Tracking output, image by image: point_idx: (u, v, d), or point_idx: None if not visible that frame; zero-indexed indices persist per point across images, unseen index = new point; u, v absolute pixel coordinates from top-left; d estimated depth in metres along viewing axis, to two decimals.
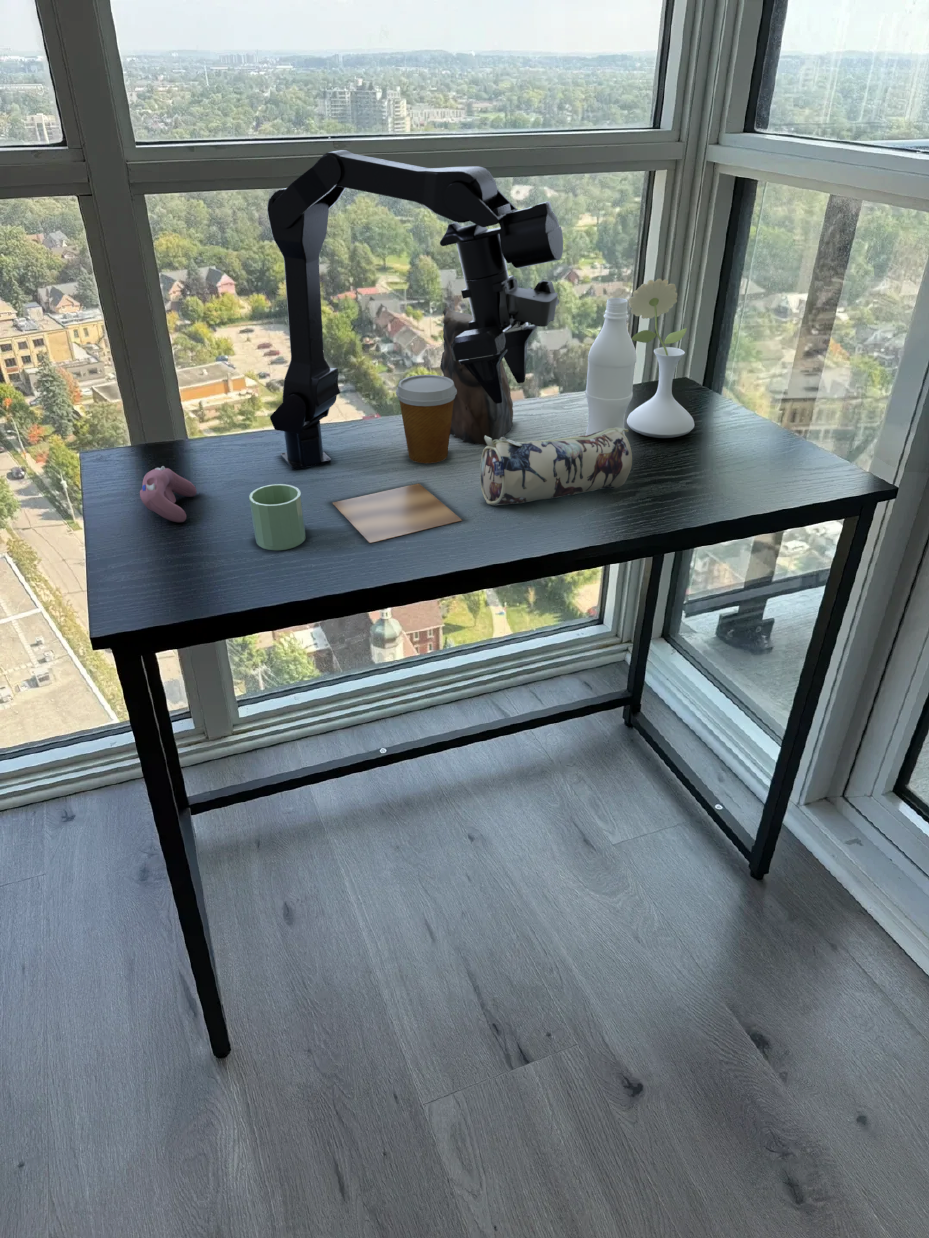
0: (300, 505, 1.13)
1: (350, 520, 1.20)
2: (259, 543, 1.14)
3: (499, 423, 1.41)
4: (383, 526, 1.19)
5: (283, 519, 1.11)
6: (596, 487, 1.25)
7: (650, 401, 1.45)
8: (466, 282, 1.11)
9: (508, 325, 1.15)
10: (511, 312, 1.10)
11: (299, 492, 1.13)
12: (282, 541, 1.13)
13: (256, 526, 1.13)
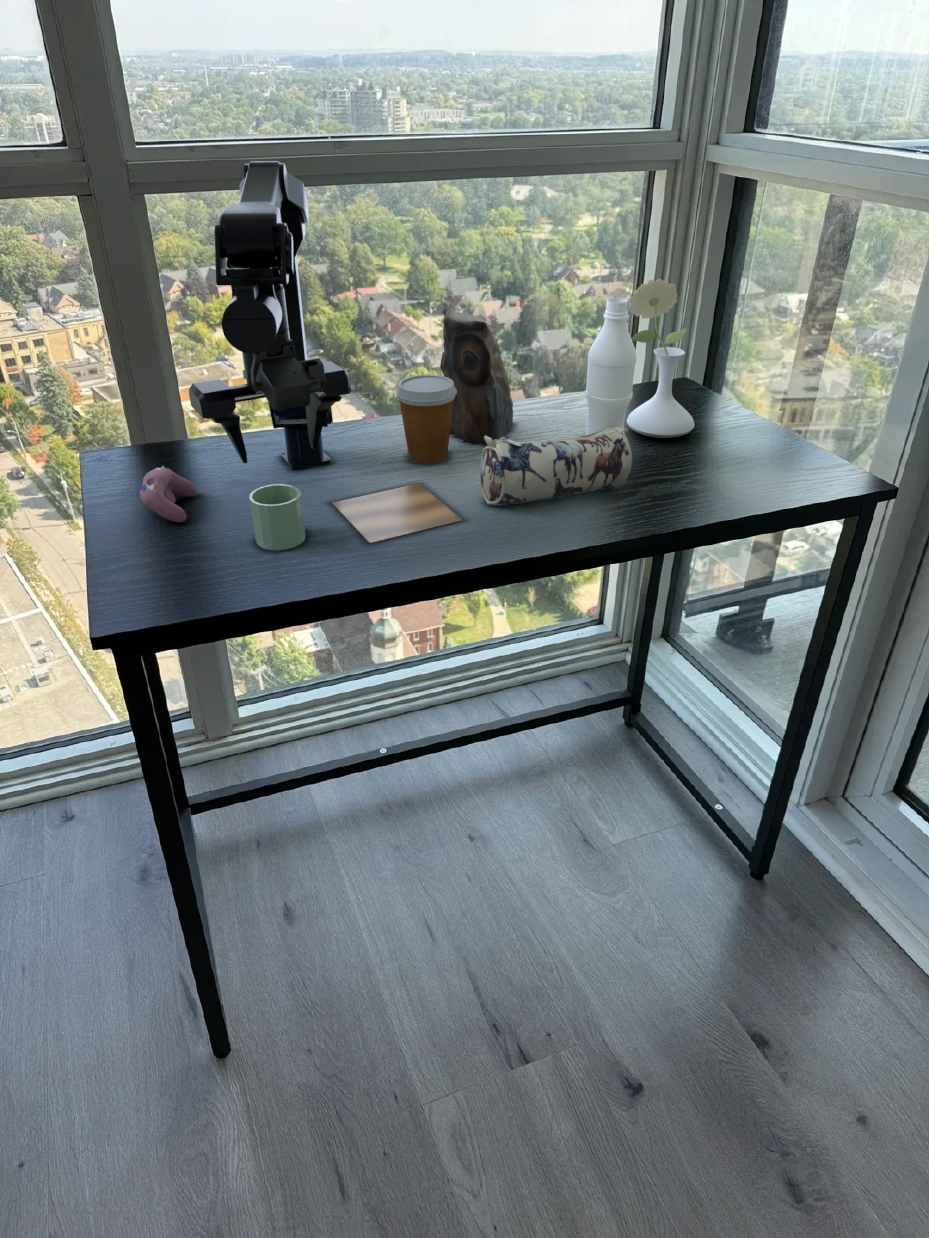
0: (300, 505, 1.13)
1: (350, 520, 1.20)
2: (259, 543, 1.14)
3: (499, 423, 1.41)
4: (383, 526, 1.19)
5: (283, 519, 1.11)
6: (596, 487, 1.25)
7: (650, 401, 1.45)
8: None
9: None
10: (256, 381, 1.00)
11: (299, 492, 1.13)
12: (282, 541, 1.13)
13: (256, 526, 1.13)
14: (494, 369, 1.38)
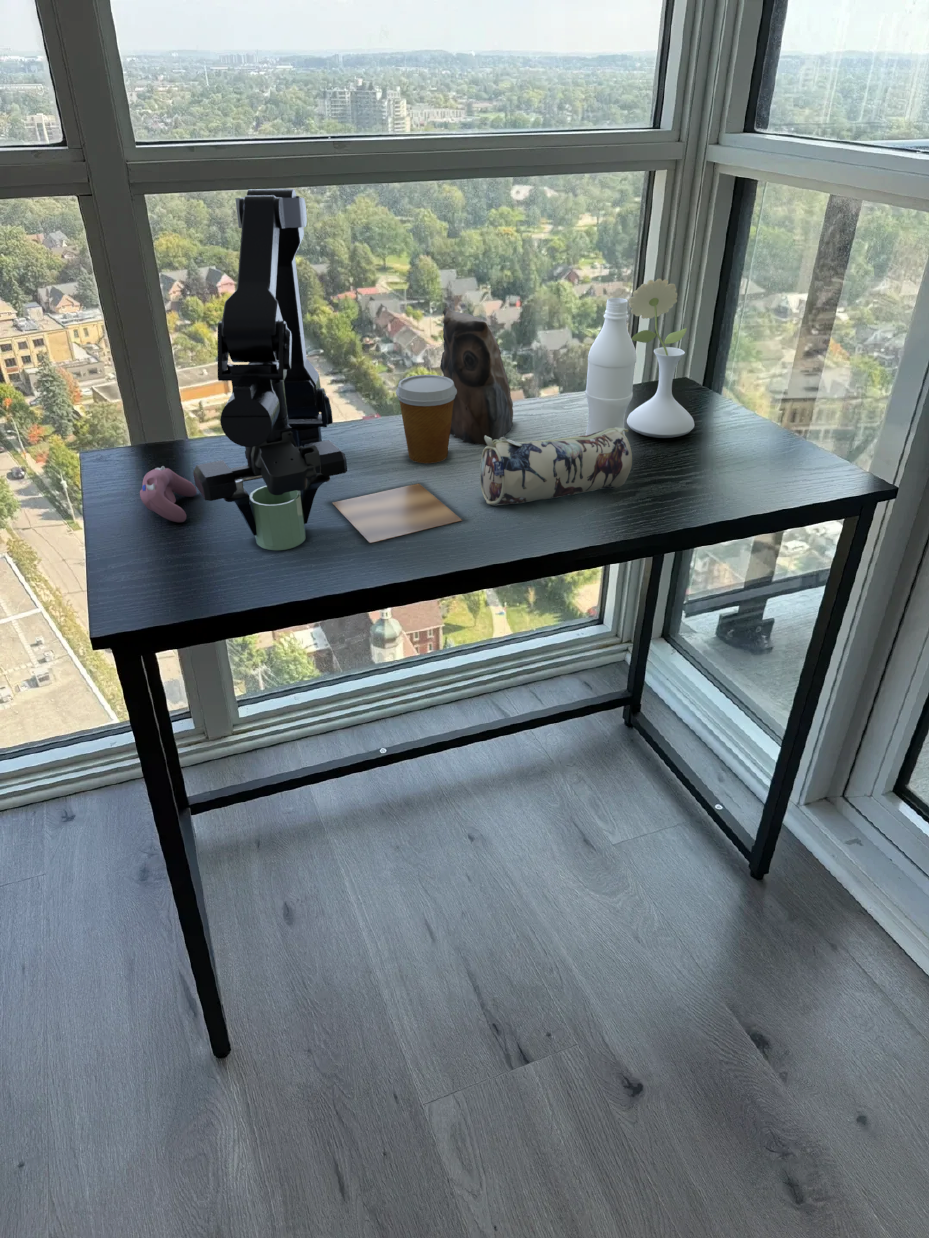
0: (300, 505, 1.13)
1: (350, 520, 1.20)
2: (259, 543, 1.14)
3: (499, 423, 1.41)
4: (383, 526, 1.19)
5: (283, 519, 1.11)
6: (596, 487, 1.25)
7: (650, 401, 1.45)
8: None
9: None
10: (256, 465, 1.06)
11: (299, 492, 1.13)
12: (282, 541, 1.13)
13: (256, 526, 1.13)
14: (494, 369, 1.38)
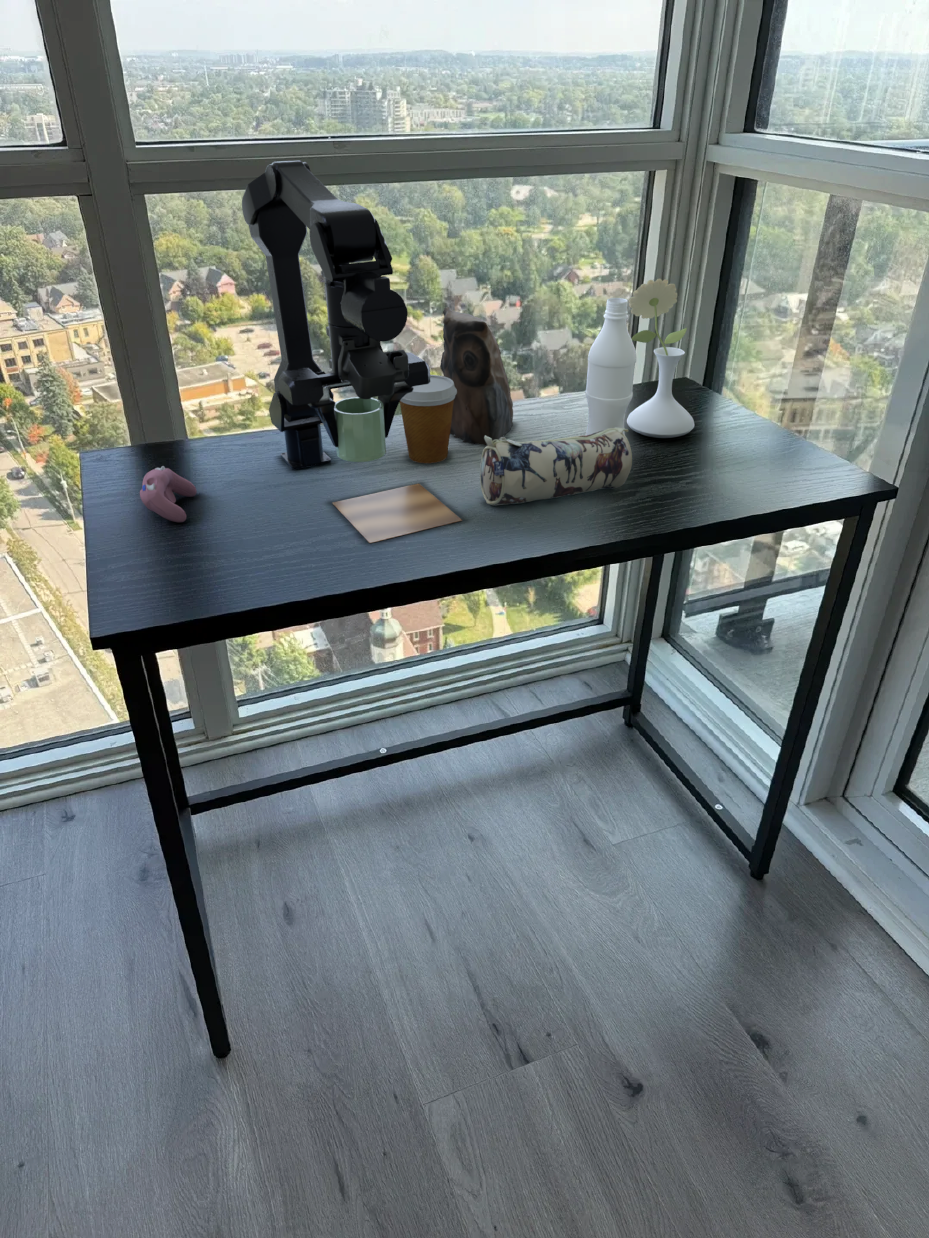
0: (383, 416, 1.12)
1: (350, 520, 1.20)
2: (340, 455, 1.13)
3: (499, 423, 1.41)
4: (383, 526, 1.19)
5: (367, 429, 1.11)
6: (596, 487, 1.25)
7: (650, 401, 1.45)
8: None
9: None
10: (343, 370, 1.05)
11: (382, 403, 1.13)
12: (364, 452, 1.12)
13: (338, 437, 1.12)
14: (494, 369, 1.38)
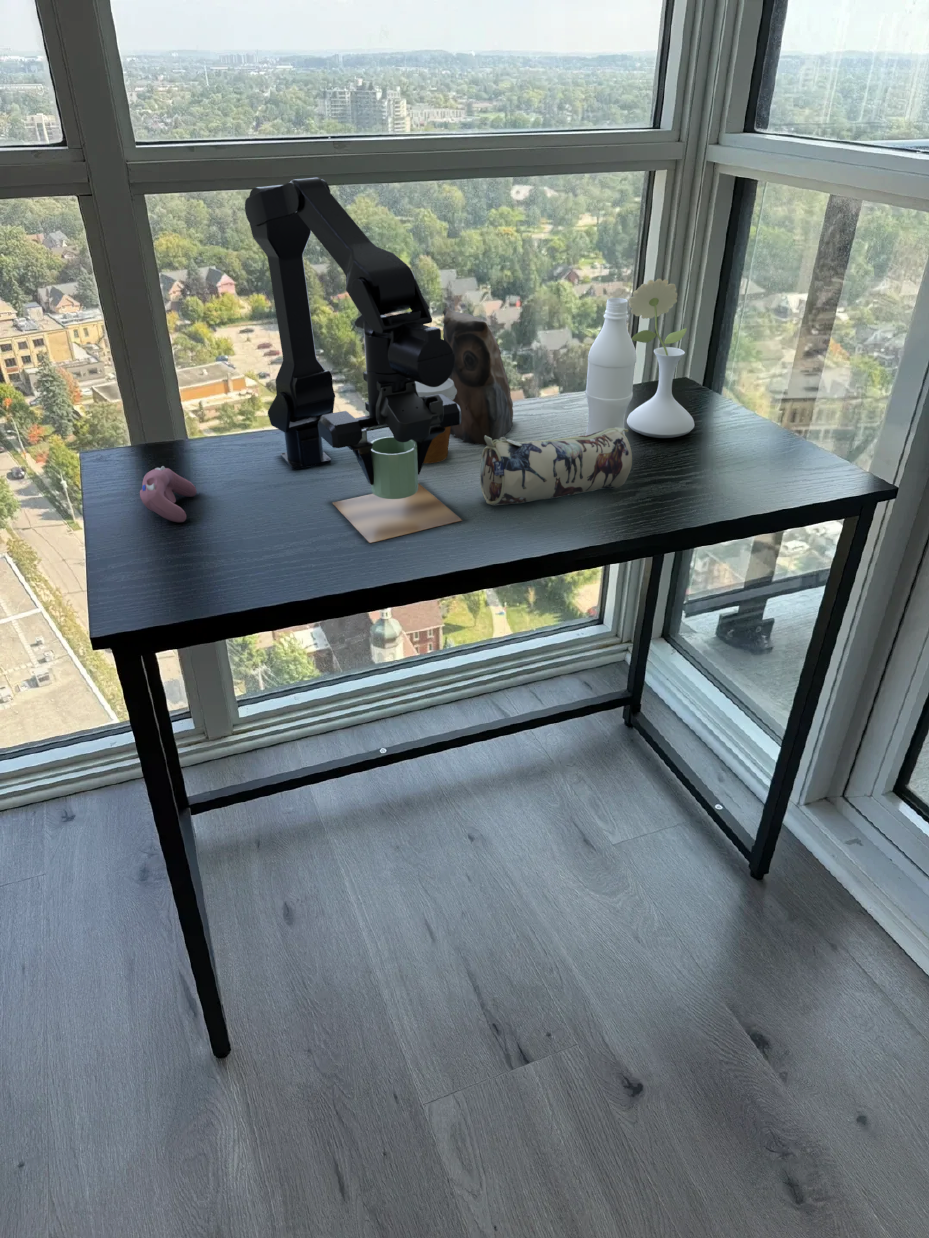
0: (416, 455, 1.18)
1: (350, 520, 1.20)
2: (376, 492, 1.19)
3: (499, 423, 1.41)
4: (383, 526, 1.19)
5: (401, 468, 1.16)
6: (596, 487, 1.25)
7: (650, 401, 1.45)
8: None
9: None
10: (381, 414, 1.10)
11: (415, 443, 1.18)
12: (399, 490, 1.18)
13: (374, 475, 1.17)
14: (494, 369, 1.38)
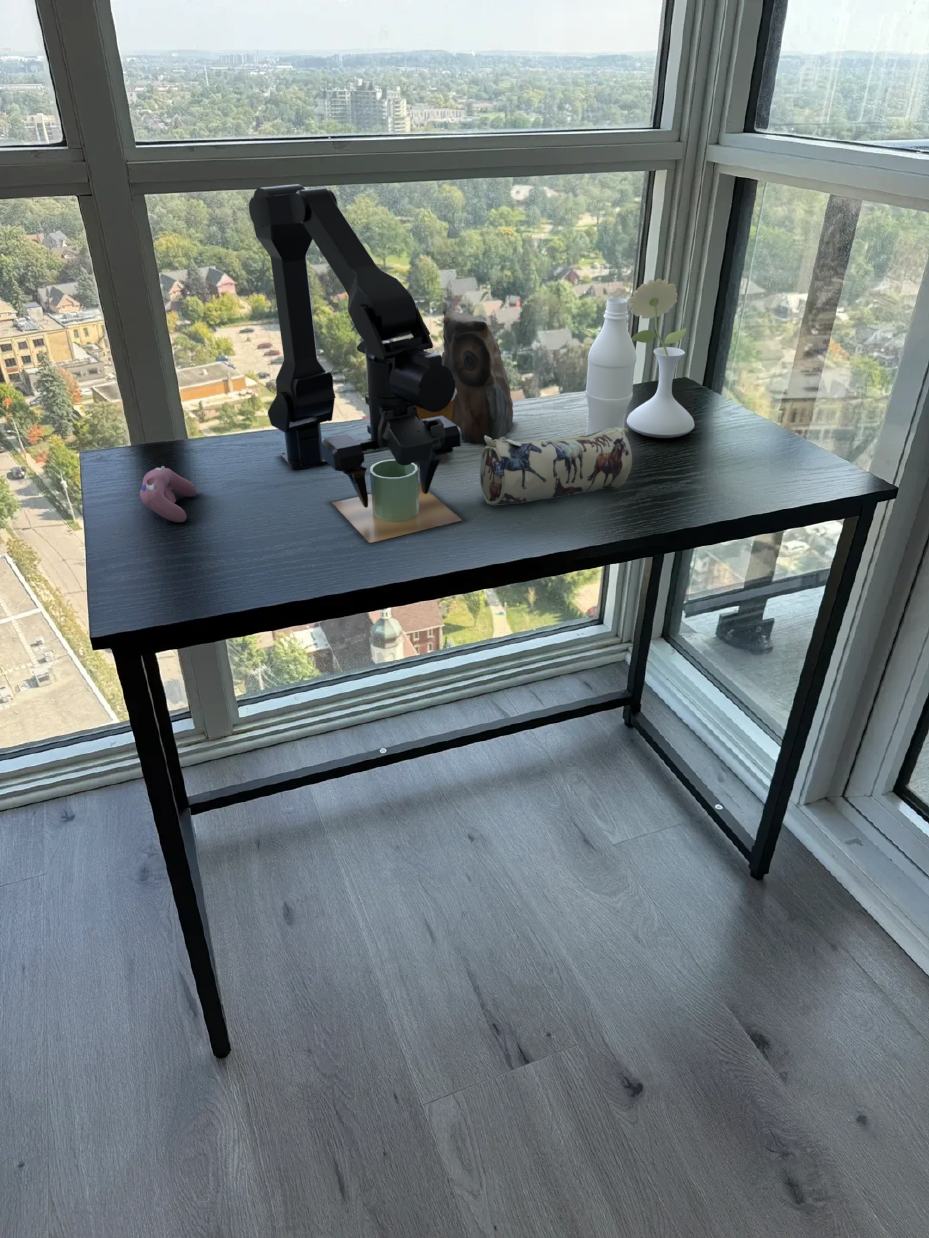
0: (417, 479, 1.20)
1: (350, 520, 1.20)
2: (377, 515, 1.21)
3: (499, 423, 1.41)
4: (383, 526, 1.19)
5: (403, 491, 1.18)
6: (596, 487, 1.25)
7: (650, 401, 1.45)
8: None
9: None
10: (383, 438, 1.12)
11: (416, 466, 1.20)
12: (400, 513, 1.19)
13: (376, 498, 1.19)
14: (494, 369, 1.38)
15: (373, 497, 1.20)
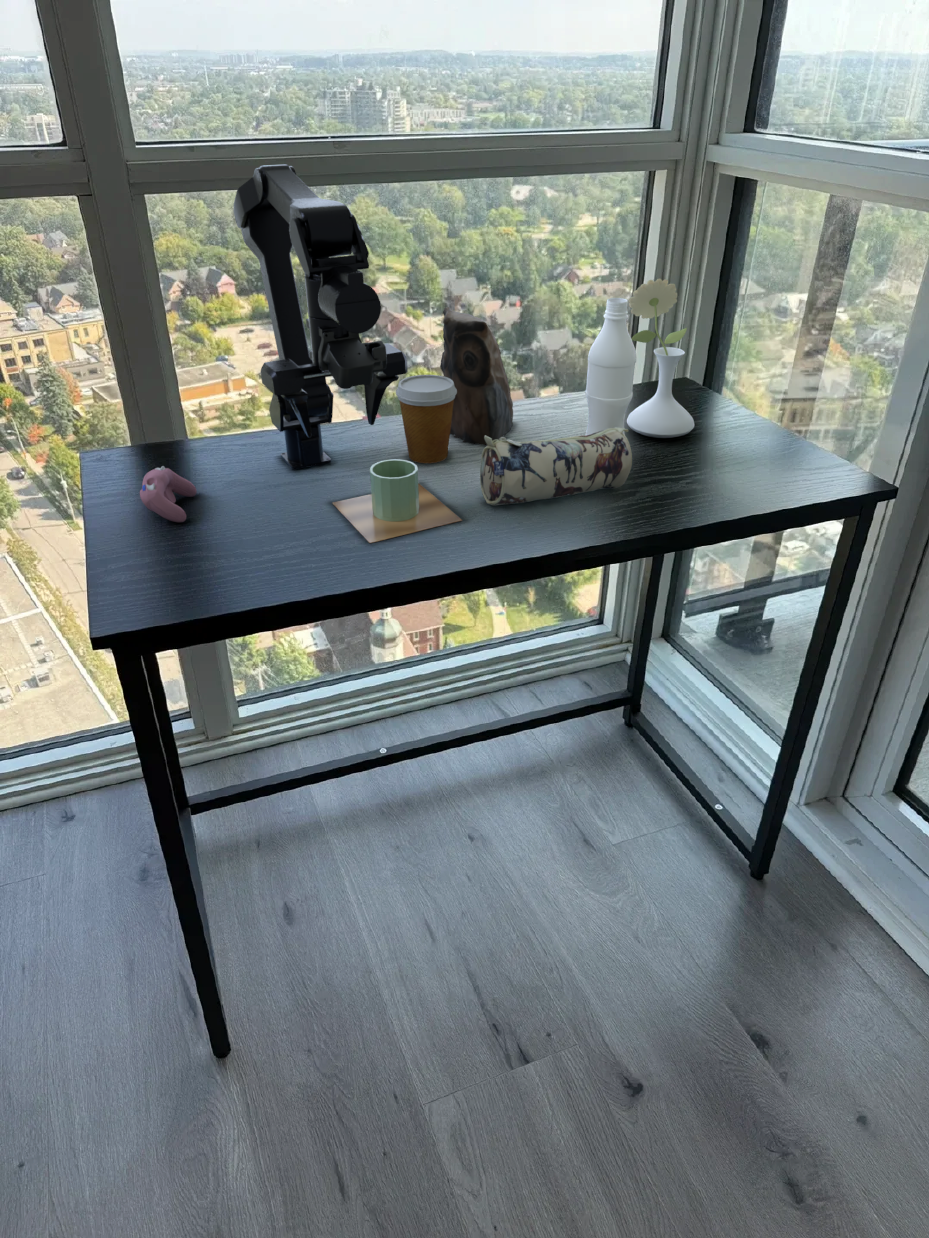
0: (417, 479, 1.20)
1: (350, 520, 1.20)
2: (377, 515, 1.21)
3: (499, 423, 1.41)
4: (383, 526, 1.19)
5: (403, 491, 1.18)
6: (596, 487, 1.25)
7: (650, 401, 1.45)
8: None
9: None
10: (324, 361, 1.09)
11: (416, 466, 1.20)
12: (400, 513, 1.19)
13: (376, 498, 1.19)
14: (494, 369, 1.38)
15: (373, 497, 1.20)
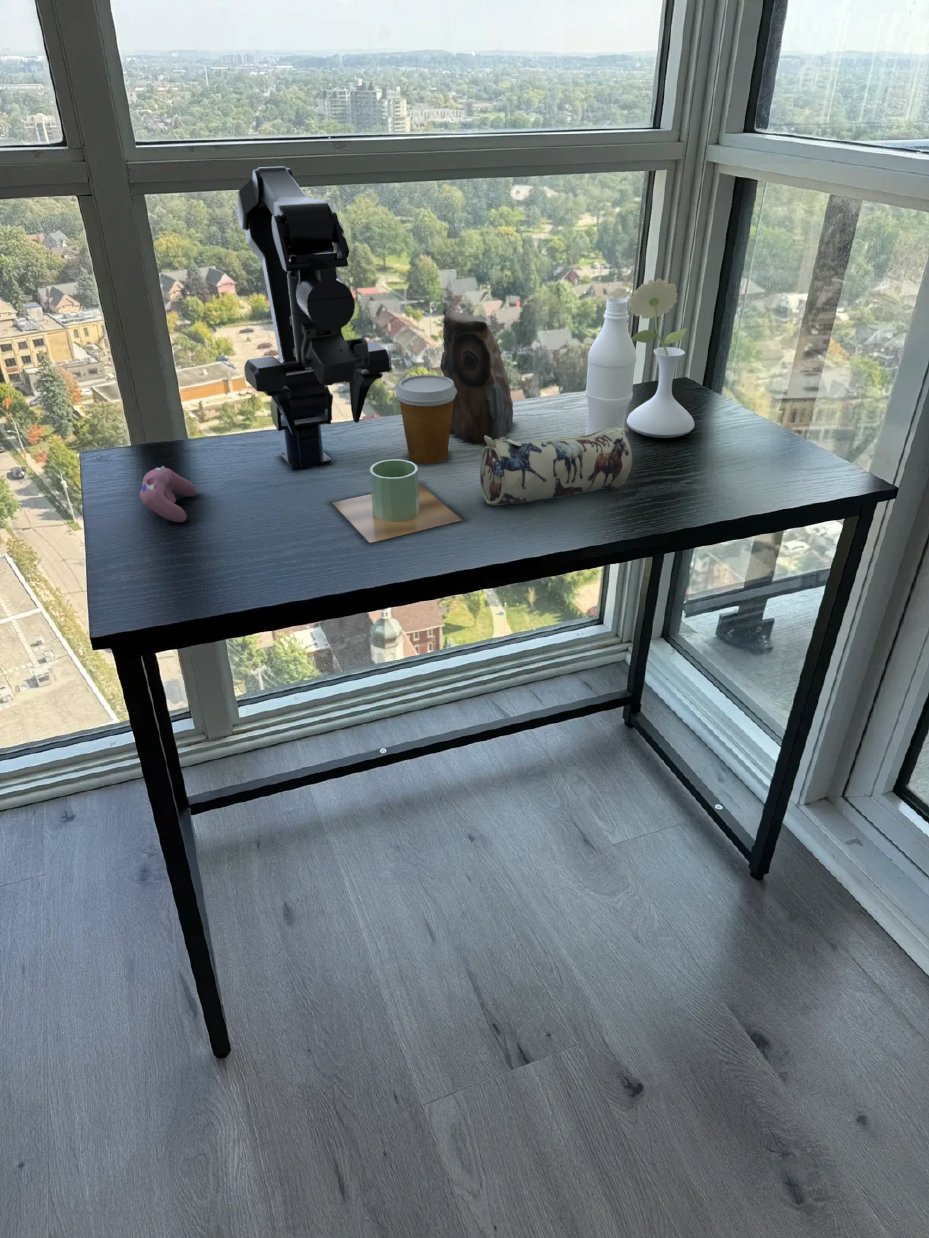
0: (417, 479, 1.20)
1: (350, 520, 1.20)
2: (377, 515, 1.21)
3: (499, 423, 1.41)
4: (383, 526, 1.19)
5: (403, 491, 1.18)
6: (596, 487, 1.25)
7: (650, 401, 1.45)
8: None
9: None
10: (306, 358, 1.09)
11: (416, 466, 1.20)
12: (400, 513, 1.19)
13: (376, 498, 1.19)
14: (494, 369, 1.38)
15: (373, 497, 1.20)
